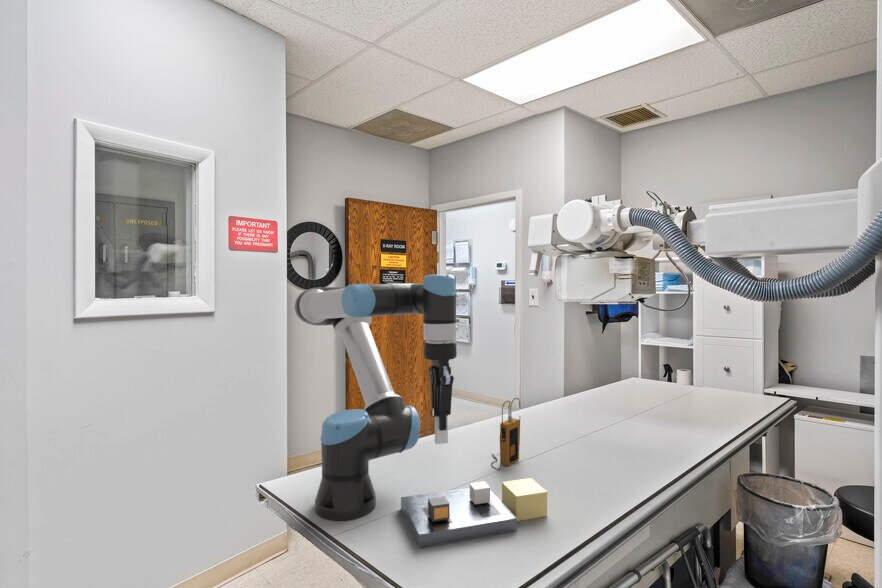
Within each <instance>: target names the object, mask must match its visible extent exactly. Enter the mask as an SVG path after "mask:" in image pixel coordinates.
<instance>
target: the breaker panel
mask: <svg viewBox="0 0 882 588" xmlns="http://www.w3.org/2000/svg"><path fill="white" fill-rule="evenodd" d="M443 496H445V498H446V499H447V501H448V502H449V519H447V520H441V521H435V522H432V520H431V518H430V517H429V515H428V499H430V498H437V497H443ZM400 510H401V512H402V514H403V517H404V518H405V521H406V523H407V525H408V527H409V529H410V532H411V534H412V535H413V539H414V540H415V542H416V545H417V548H418V549H423V548H428V547H435V546H441V545H445V544H446V545H447V544H453V543H457V542H463V541H467V540H473V539H480V538H486V537H491V536H496V535H502V534H507V533H508V534H509V533H512V532H517V529H518V527H517V522H518V521H517V518H516V517H515V516H514V515H513V514H512V513H511V511H510V510H509V509H508V508H507V507H506V506H505V505H504V504H503V503H502V500H501V499H500V498H499V497H498V496H497V495H496V494H495V492H493V490H491V489H490V502H487V503H480V504H474V503H473V501H472V500H471V499H470V486H469V487H464V488H456V489H449V490H442V491H437V492H436V491H435V492H429V493H422V494H415V495H414V494H413V495H408V496H401V497H400Z"/></svg>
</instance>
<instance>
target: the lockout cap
mask: <svg viewBox="0 0 882 588" xmlns="http://www.w3.org/2000/svg"><path fill="white" fill-rule="evenodd" d="M501 502H502V503H503V504H504V505H505V506H506V507H507V508H508V509H509V510H510V511H511V513H512V514H513V515H514V516H515V517H516V518H517V522H520V521H526V520H532V519H538V518H544V517H548V491H547V490H546V489H545V488H544V487H542V486H541V485H540V484H539V483H538V482H536V480H534V479H533V478H532V477H528V478H521V479H516V480H515V479H514V480H513V479H512V480H507V481H502V482H501Z"/></svg>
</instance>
